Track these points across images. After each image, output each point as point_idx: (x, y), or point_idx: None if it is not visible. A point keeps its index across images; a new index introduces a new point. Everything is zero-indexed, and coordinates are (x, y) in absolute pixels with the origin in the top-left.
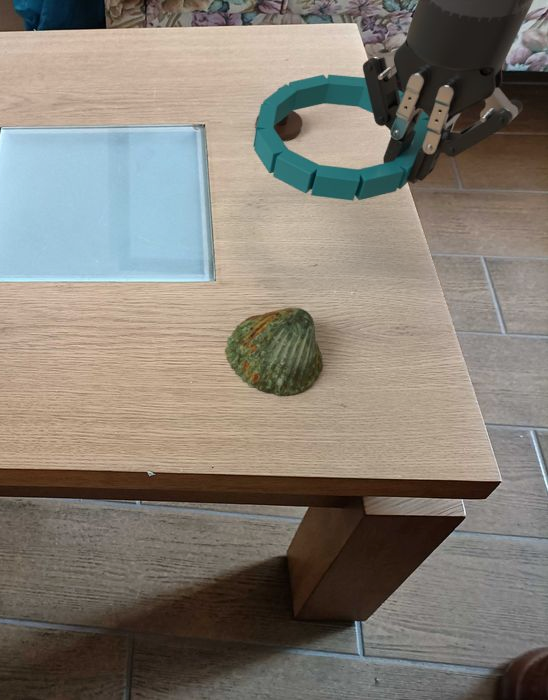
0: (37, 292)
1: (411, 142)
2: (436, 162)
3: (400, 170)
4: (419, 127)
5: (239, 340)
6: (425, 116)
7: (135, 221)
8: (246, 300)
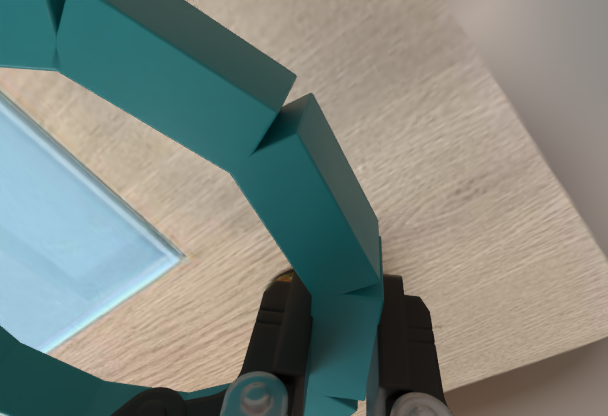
0: (64, 360)
1: (310, 333)
2: (433, 341)
3: (346, 411)
4: (282, 213)
5: None
6: (258, 120)
7: (15, 227)
8: (242, 261)
